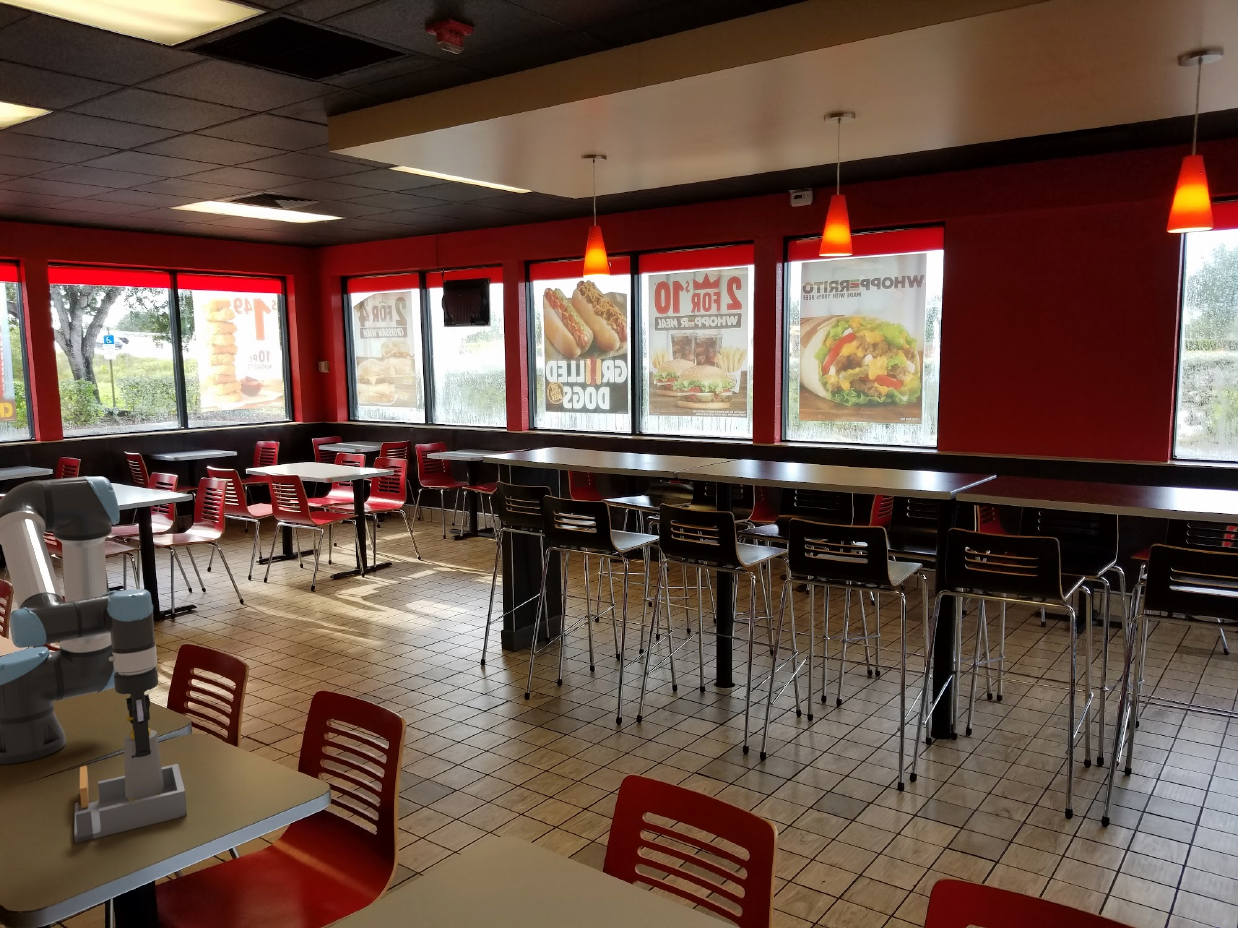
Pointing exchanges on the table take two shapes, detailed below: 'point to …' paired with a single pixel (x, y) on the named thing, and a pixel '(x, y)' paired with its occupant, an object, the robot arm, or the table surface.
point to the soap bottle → (142, 769)
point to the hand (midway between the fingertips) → (145, 784)
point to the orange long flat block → (84, 787)
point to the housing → (129, 807)
